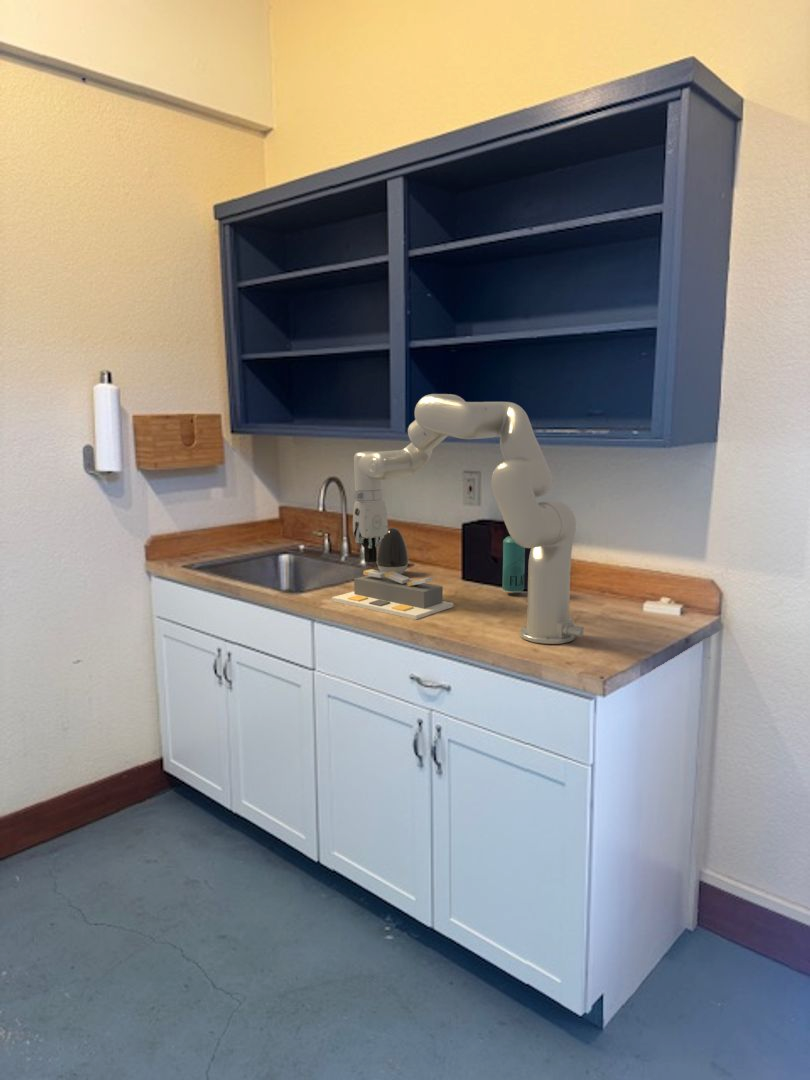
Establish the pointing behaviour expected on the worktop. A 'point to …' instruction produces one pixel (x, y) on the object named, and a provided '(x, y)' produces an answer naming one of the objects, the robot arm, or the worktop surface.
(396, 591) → the switch unit
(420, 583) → the plate
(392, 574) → the block
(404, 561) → the black egg-shaped figure
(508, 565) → the beverage bottle
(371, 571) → the plate
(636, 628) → the worktop surface
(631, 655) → the worktop surface
